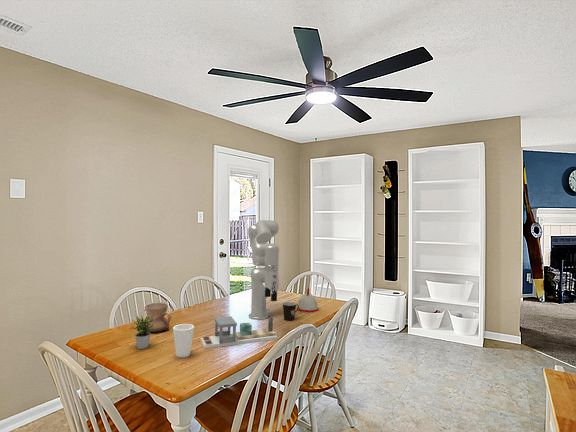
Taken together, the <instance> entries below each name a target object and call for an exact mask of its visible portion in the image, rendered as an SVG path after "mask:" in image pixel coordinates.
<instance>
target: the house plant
mask: <svg viewBox="0 0 576 432" xmlns="http://www.w3.org/2000/svg"><path fill="white" fill-rule="evenodd" d="M140 316H141V318H139V317H138V316H137V315H136V314H135V318H136V320H133V319H130V320H131V321H132V322H133V323H134V324H135V325H136V326H135V327H134V326H131V327H130V328H128V329H129V330H136V331H137V333H135V335H134V338H135V342H136V348H137V349H138V350H143V349H147V348H149V345H150V340H151V339H150V338H151V333H152V332H148V330H149V328H153V329H155V328H154V327H153V326H154V325H153V324H152V325H151V324H150V323H152V321H153V320H154V318H155V317H154V318H152V319H151V320H150V321H149V322H148V320H149V316H150V315H148V314H146V317H145V318H144V317H143V314H142V313H140ZM156 317H158V316H156ZM155 320H156V318H155ZM147 323H148V324H147ZM146 324H147V325H146ZM154 324H155V323H154ZM149 325H151V326H149ZM148 326H149V327H148Z"/></svg>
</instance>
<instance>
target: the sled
mask: <svg viewBox="0 0 576 432" xmlns="http://www.w3.org/2000/svg"><path fill="white" fill-rule="evenodd" d="M267 319H268V320H267V322H268V325H267V326H268V328H262V329H252V328H253V327H252V324H251V323H250V322H242V323H241V322H240V323H239V331H236V337H237V338H238V339H246V338H254V337H262V336H270V335H277V331H275V330H274V327H273V326H274V323H273V322H274V321H273V320H274V318H273V317H267Z"/></svg>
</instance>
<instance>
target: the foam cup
mask: <svg viewBox="0 0 576 432" xmlns="http://www.w3.org/2000/svg"><path fill="white" fill-rule="evenodd" d="M194 332H195V325H193V324H192V323H191V324H190V323H181V324H176V325H174V326H173V328H172V333H173V339H174V349H175V356H176V357H177V358H187V357H189V356H190V355H191V350H192V346H193V345H192V344H193V339H194Z"/></svg>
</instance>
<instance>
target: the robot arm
mask: <svg viewBox="0 0 576 432" xmlns="http://www.w3.org/2000/svg"><path fill="white" fill-rule="evenodd" d="M279 228H280V227H279V224H278V222H277V221H276V220H259V221H256V223H255V224H251V225H249V226H248V228H247V235H248V238H249V242H250V244H251V257H252V260H251V261H252V264H253V265H254V266H255V267H254V268H253V269H251V272H250V281H251V301H250V302H251V306H250V307H251V311H250V313H249V314H248V318H250V319H252V320H264V319H268V318H269V314H273V313H274V310H273V309H267V298H270V301H271V302H277V301H278V290H279V287H280V284H279V259H280V258H279V257H280V247H279V246H278V244H276V243H268V242H270V241H271V240H272V238H273V237H275V236H276V235H277V234H278V233H279Z"/></svg>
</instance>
